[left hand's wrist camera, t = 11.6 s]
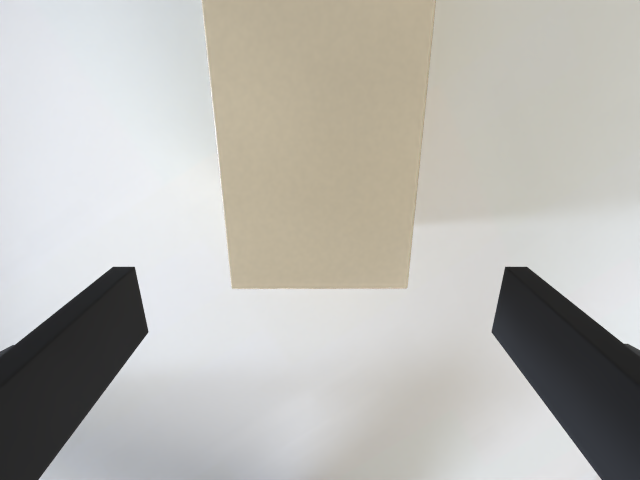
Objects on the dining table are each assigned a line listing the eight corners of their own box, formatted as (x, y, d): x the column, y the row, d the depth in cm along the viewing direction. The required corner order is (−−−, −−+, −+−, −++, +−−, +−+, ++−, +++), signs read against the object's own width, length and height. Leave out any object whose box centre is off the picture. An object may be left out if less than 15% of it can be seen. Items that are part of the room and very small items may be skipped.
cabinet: (241, -66, 23) (179, -196, 13) (396, -67, 23) (456, -197, 13) (260, 227, 30) (231, 289, 20) (378, 227, 30) (407, 289, 20)
